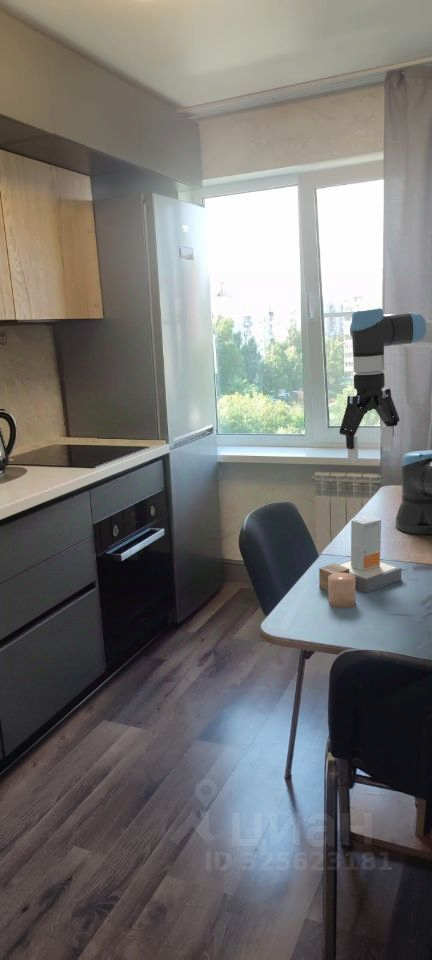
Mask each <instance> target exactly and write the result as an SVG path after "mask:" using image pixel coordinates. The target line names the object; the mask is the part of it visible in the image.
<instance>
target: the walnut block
mask: <svg viewBox="0 0 432 960" xmlns="http://www.w3.org/2000/svg"><path fill="white" fill-rule="evenodd" d="M338 564H339V563H330V564H328V565H325V566H321V567H319V568H318V571H319V572H318V576H319V578H318V579H319V581H318V582H319V583H318V585H319V586H318V587H319V588H320V589H322V590H325V592H326V591H327V592H328V576H329V575H331V574H333V573H349V574H350V569H349V568H346V567H343V566H341V565H338Z"/></svg>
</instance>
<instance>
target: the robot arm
mask: <svg viewBox="0 0 432 960" xmlns="http://www.w3.org/2000/svg"><path fill="white" fill-rule="evenodd" d="M349 333H350V336H351V339H352V341H351V343H352V356H353V357H352V359H353V362H352V363H353V372H354V373H355V374H354V375H353V389H355V391H356V395H351V394H349V395H347V398H346V400H347V401H346V407H345V411H344V413H343V418H342V420H341V425H340V427H339V432H338V433H339V435H342V436H345V446H346V449H347V461H348V462H353V463H354V462H356V463H358V462H359V445H358V444H359V443H358V442H359V440H358V437H359V436H358V435H356V434H357V431H358V429H359V427H360V425H361V423H362V421H363V419H364V416H365V414H368V412H369V411H372V410H375V412H376V413H377V415H378V416H379V418H380V419H381V420H382V423H384V425H382V450H383V451H385V452H393V451H394V436H395V433H394V432H395V431H394V429H395V428H394V427H397V426H398V422H400V417H399V414H398V412H397V407H396V406H395V404H394V400H393V398H392V397H393V396H392V391H391V388H387V387H386V388H385V385H386V384H385V383H386V382H385V373H384V372H383V371H385V347H388V346H390V347H391V346H397V347H408V348H421V349H422V348H423V349H432V320H428V319H427V320H425V317H424V316H423V315H422V313H419V312H406V313H405V312H404V313H390V314H384V311H383V308H381V307H378V308H377V307H376V308H363V309H362V308H361V309H357V310H354V311H353V312H352V316H351V324H350V326H349ZM394 525H395V528H396V529H398V530H399V531H402V532H404V533H408V534H414V535H432V449H428V450H427V449H426V450H416V451H409V452H407V453H405V454H404V455H403V457H402V464H401V503H400V505H399V508H398V511H397V513H396V517H395V524H394Z"/></svg>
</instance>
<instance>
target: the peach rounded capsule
mask: <svg viewBox="0 0 432 960" xmlns="http://www.w3.org/2000/svg"><path fill="white" fill-rule="evenodd" d="M327 593H328V596H327V597H328V601H327V602H328V604H329V605H330V606H331V607H334V608H339V609H346V608H351V607H353V606H355V605H356V588H355V576H354V575H352V574H349V573H333V574H331V575H329V576H328V591H327Z"/></svg>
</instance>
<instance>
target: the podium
mask: <svg viewBox="0 0 432 960" xmlns="http://www.w3.org/2000/svg"><path fill="white" fill-rule="evenodd" d="M337 564H338V565H341V566H343V567H346V568H349V569H350V574H352V575H354V576H355V590H358V591H361V592H363V593H366V594H368V593H369V592H372V591H375V590H377V589H380V588H383V587H385V586H389V585H390V584H393V583H395V582H399V581H401V580H402V567H399V566H397V565H394V564H391V563H387V562H385V561H383V560H380V566H379V567H375V568H371V569H368V570H364V571H360V570H358V569H356V568H353V567H351V559H349V560H346V561H343V562H340V563H337Z"/></svg>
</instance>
